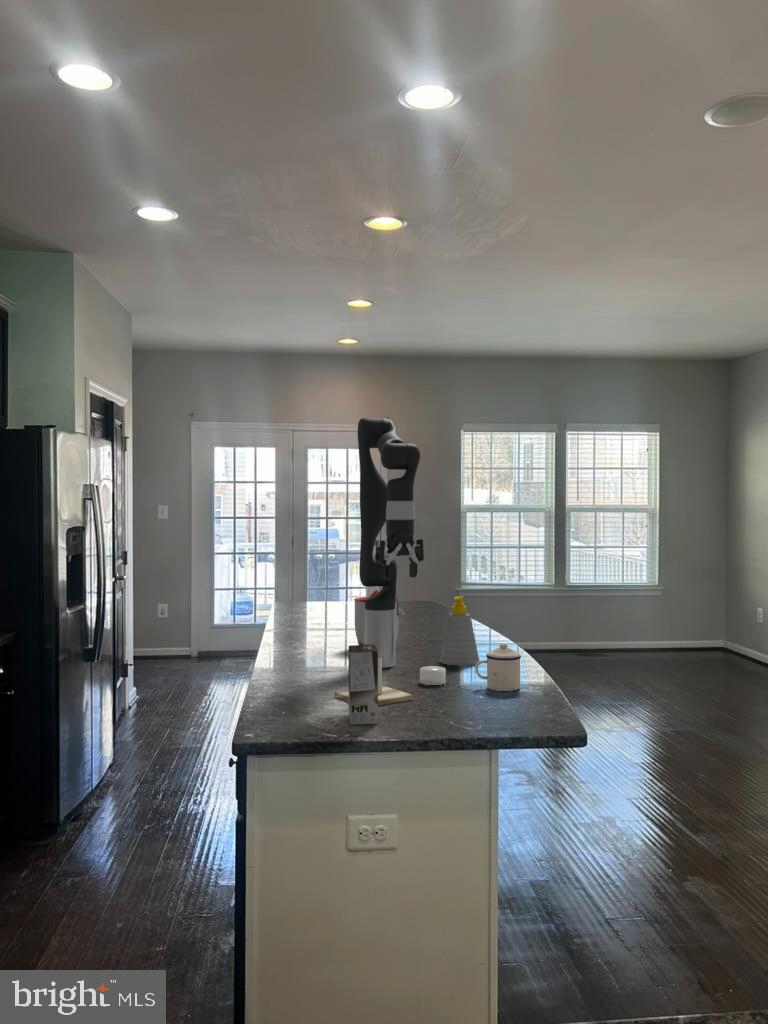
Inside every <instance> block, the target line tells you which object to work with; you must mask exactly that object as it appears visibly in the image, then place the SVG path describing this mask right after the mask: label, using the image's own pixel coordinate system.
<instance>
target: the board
mask: <svg viewBox="0 0 768 1024" xmlns="http://www.w3.org/2000/svg"><path fill="white" fill-rule="evenodd" d="M335 696H337V697H339V698H342V699H344V700H343V701H345V700H347V701H346V702H348V701H349V689H346V690H339V691H334V697H335ZM337 697H336V698H337ZM339 698H338V699H339ZM413 698H414V697H413V694H411V693H408V692H404V691H401V690H398V689H394V688H393V687H389V686H385V685H383V684H382V694H381V695H378V707H379V706H386V705H391V704H396V703H397V704H398V703H401V702H403V703H404V702H407V701H409V702H410V701H412V700H414V699H413ZM342 699H341V700H342Z"/></svg>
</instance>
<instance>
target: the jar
mask: <svg viewBox="0 0 768 1024" xmlns="http://www.w3.org/2000/svg"><path fill="white" fill-rule="evenodd" d="M382 657H383V653H381V652H378V695H381V694H382V685H383V668H382Z"/></svg>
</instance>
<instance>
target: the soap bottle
mask: <svg viewBox="0 0 768 1024" xmlns="http://www.w3.org/2000/svg"><path fill="white" fill-rule="evenodd" d="M463 599H464V596H455V597H454V598H453V601H455V603H454V605H452V606H451V607H452V609H451V611H452V612H451V613H448V615H447V620H446V626H445V632H444V635H443V636H444V638H443V641H442V647H441V651H440V657H439V663H440V662H441V663H440V664H442V663H443V664H442V665H444V664H447V665H446V666H450V665H459V666H458V667H469V666H468V665H472V666H476V664H477V662H479V661H481V660H480V656H479V651H478V647H477V646H478V645H477V642H476V638H475V637H476V636H475V632H474V626H473V623H472V622H473V621H472V618H471V617H472V616H471V614H470V613H467V606H466V605H465V603H464V602H463ZM465 665H467V666H465Z"/></svg>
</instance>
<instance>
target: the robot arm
mask: <svg viewBox="0 0 768 1024" xmlns="http://www.w3.org/2000/svg"><path fill="white" fill-rule="evenodd" d="M357 444H358V445H357V446H358V459H359V512H360V513H359V514H360V515H359V516H360V549H359V550H360V552H359V580H360V583H361V585H362V586H364V587H367V588H369V587H370V588H371V587H372V588H373V587H374V588H375V587H381V590H380V591H379V593H378V594H376V595H375V596H372V597H370V596H369V597H370V598H368V599H366V601H365V633H364V645H375V646H376V648H377V651H378V652H381V653H383V657H382V669H386V668H388V667H389V668H393V667H395V666H396V643H395V601H396V598H397V581H398V580H397V577H398V567H397V561H396V560H395V558H396V557H401V556H403V557H404V556H405V558H407V559H408V561H409V564H408V567H409V570H408V571H409V573H408V575H409V578H416V577H417V575H418V563H419V562H422V561H424V559H425V556H424V540H423V539H422V538H414V534H415V507H414V484H415V478H416V475H417V470H418V467H419V464H420V459H421V451H420V448H419V447H418V445H416V444H415V443H405V441H403V439H402V438H401V437H399V435H398V431H397V428H396V426H395V424H394V422H393V420H391V419H389V418H386V417H384V418H383V417H362V418H360V420H359V421H358V424H357ZM371 449H377V450H378V452H379V454H380V462H381V466H383V468H385V469H387V470H391V471H392V470H396V471H398V470H401V471H402V470H403V471H405V472H404V474H403V475H402V476H401V477H397V478H392V479H389V480H388V481H387V482H386V481H385V479H384V478H383V476H382V475H381V473H380V472H379V471H378V469H377V467H376V465H375V463H374V460H373V458H372V455H371ZM384 526H385V534H386V540H383V539H377V538H378V536H379V534H380V532H381V530H382V529H383V527H384ZM375 543H376V544H375ZM374 547H375V555H374ZM413 547H414V550H413ZM386 548H387V549H386ZM385 549H386V550H385ZM389 668H388V669H389Z"/></svg>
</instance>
